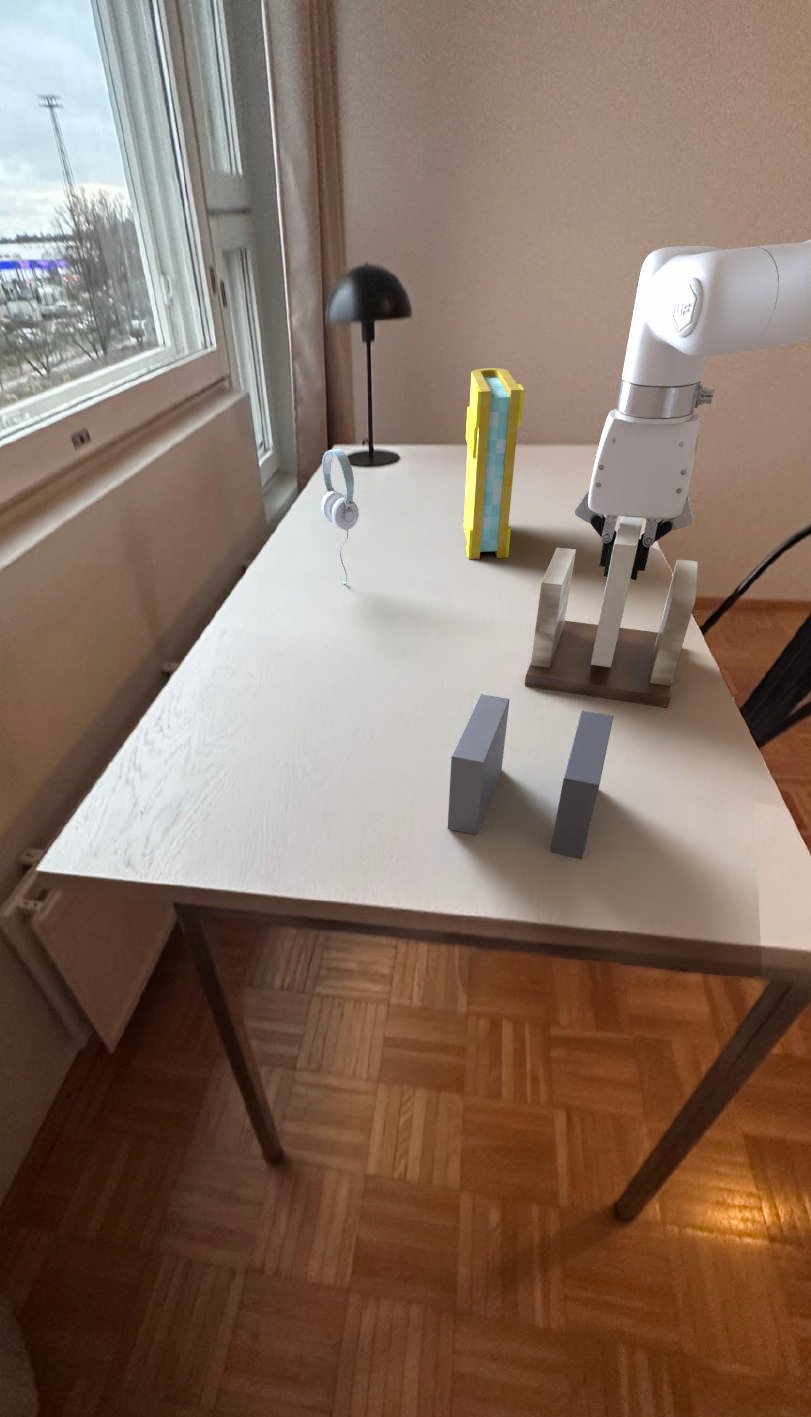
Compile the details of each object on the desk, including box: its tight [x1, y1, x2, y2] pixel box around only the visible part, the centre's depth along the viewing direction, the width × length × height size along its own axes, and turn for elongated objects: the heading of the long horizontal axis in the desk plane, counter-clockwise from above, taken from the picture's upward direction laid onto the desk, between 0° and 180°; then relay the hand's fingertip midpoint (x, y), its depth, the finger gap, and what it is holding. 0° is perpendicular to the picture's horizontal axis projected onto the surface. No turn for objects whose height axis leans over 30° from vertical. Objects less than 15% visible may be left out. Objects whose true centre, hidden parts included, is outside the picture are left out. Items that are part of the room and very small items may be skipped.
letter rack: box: [524, 547, 699, 709], centre depth 88 cm, size 17×16×12 cm
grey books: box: [447, 693, 614, 860], centre depth 69 cm, size 13×11×9 cm
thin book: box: [591, 516, 645, 667], centre depth 85 cm, size 2×11×15 cm, turn 159°
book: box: [462, 367, 525, 560], centre depth 118 cm, size 17×7×25 cm, turn 179°
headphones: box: [320, 448, 360, 585], centre depth 108 cm, size 8×4×20 cm, turn 27°
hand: (620, 572), depth 84 cm, fingers closed on thin book, 2 cm apart
